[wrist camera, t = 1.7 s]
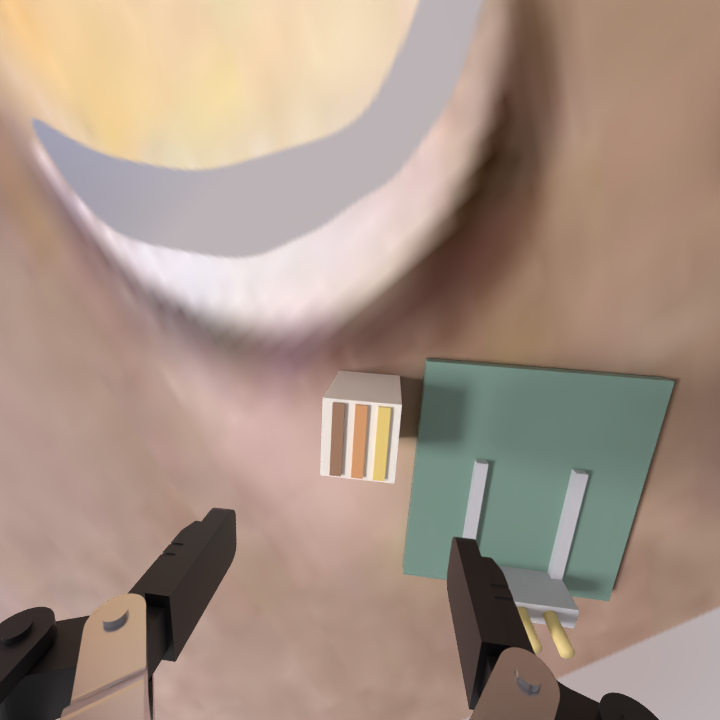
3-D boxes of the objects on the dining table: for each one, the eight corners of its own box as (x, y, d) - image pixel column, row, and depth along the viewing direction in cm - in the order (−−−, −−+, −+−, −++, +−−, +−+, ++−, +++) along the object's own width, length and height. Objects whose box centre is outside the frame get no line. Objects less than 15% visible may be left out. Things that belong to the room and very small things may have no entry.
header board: (426, 357, 24) (437, 384, 18) (662, 377, 23) (764, 413, 16) (402, 564, 28) (405, 644, 22) (601, 589, 27) (663, 682, 21)
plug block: (339, 370, 25) (322, 399, 19) (399, 375, 24) (402, 406, 18) (336, 431, 26) (319, 476, 20) (393, 437, 26) (394, 485, 20)
